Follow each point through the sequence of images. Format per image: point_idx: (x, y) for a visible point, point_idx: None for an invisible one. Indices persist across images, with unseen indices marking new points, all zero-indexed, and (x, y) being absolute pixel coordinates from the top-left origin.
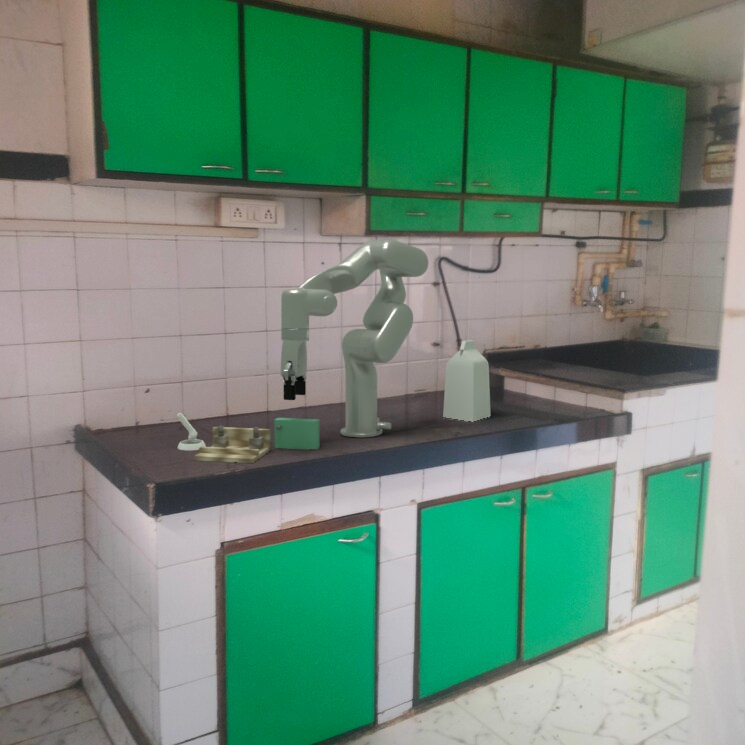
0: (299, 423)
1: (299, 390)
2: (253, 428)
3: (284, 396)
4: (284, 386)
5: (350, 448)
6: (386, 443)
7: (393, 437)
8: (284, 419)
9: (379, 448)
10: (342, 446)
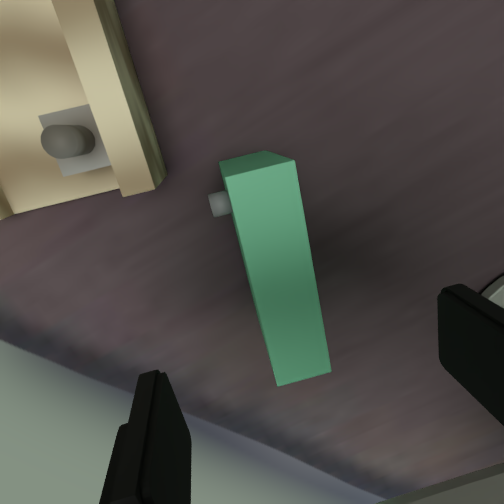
0: (257, 308)
1: (464, 350)
2: (44, 132)
3: (139, 396)
4: (119, 490)
5: (314, 391)
6: (406, 438)
7: (483, 421)
8: (260, 226)
9: (342, 450)
10: (331, 360)
